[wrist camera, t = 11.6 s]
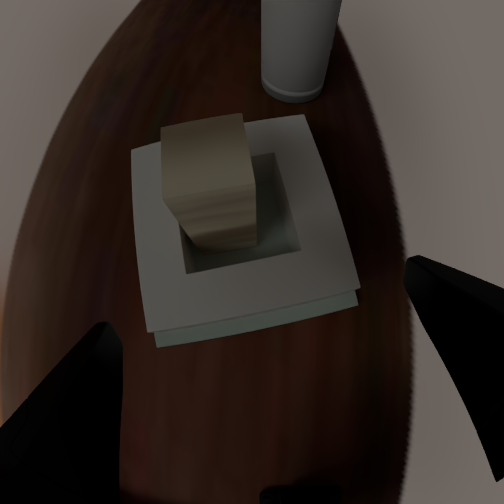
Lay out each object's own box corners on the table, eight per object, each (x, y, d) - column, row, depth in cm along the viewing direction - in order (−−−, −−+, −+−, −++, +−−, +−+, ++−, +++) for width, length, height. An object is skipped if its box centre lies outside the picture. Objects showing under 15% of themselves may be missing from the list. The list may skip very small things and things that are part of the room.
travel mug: (246, 79, 27) (237, -100, 8) (296, 59, 28) (312, -100, 9) (283, 114, 26) (300, -93, 6) (334, 92, 27) (377, -83, 7)
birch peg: (256, 246, 22) (255, 183, 12) (202, 255, 22) (162, 199, 12) (248, 197, 23) (241, 112, 13) (197, 206, 23) (160, 127, 13)
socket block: (355, 305, 21) (378, 299, 17) (159, 347, 21) (135, 350, 16) (304, 137, 25) (312, 103, 21) (139, 171, 25) (119, 143, 20)
